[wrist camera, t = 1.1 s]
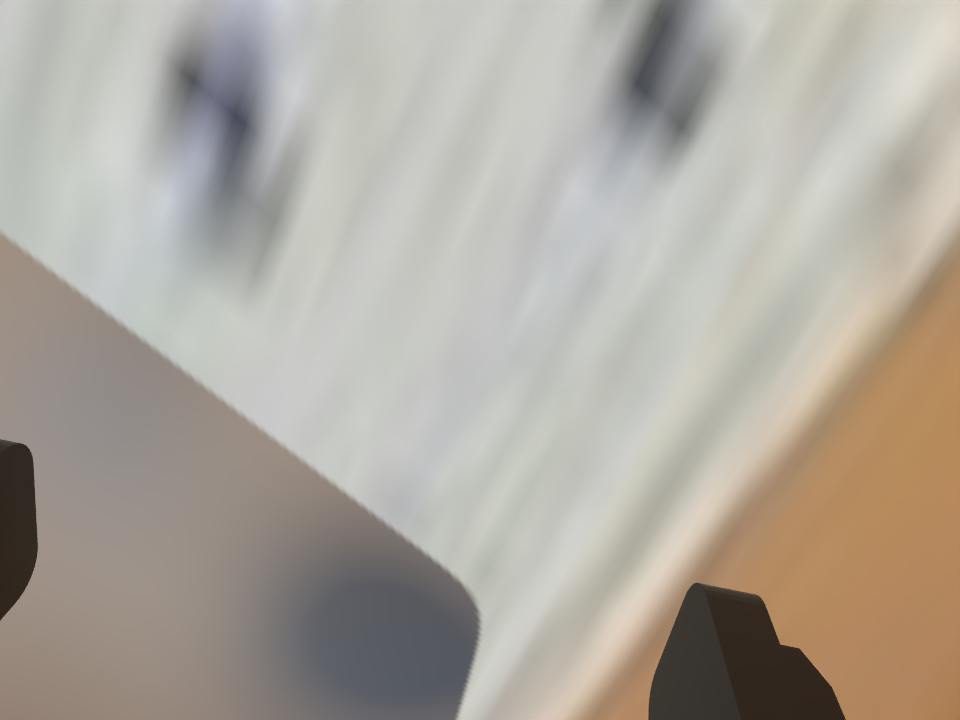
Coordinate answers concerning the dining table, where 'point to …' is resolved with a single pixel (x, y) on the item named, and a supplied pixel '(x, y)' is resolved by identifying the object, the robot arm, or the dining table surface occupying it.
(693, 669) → the robot arm
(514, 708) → the dining table surface
